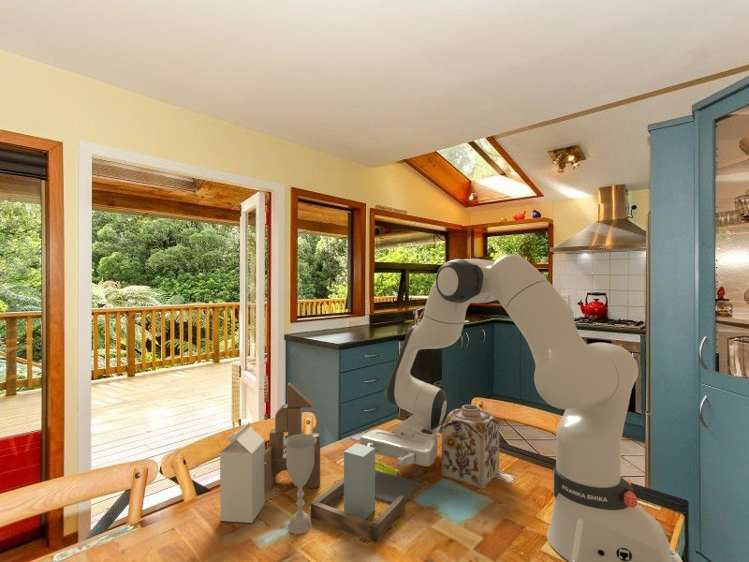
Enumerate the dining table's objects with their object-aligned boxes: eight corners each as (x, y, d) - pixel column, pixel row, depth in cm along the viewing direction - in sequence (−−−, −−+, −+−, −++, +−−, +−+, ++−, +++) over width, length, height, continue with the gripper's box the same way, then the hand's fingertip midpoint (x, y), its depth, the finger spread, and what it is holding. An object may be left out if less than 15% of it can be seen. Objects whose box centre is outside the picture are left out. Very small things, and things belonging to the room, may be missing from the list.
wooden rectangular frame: (404, 509, 90) (404, 496, 90) (375, 542, 78) (375, 527, 78) (344, 489, 98) (344, 477, 98) (310, 517, 87) (310, 503, 87)
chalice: (281, 519, 86) (281, 436, 86) (312, 512, 88) (312, 432, 88) (286, 540, 79) (286, 450, 79) (320, 532, 82) (320, 445, 81)
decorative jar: (483, 491, 98) (483, 417, 97) (440, 476, 105) (440, 408, 104) (500, 471, 107) (500, 405, 107) (460, 459, 114) (460, 397, 114)
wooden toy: (256, 491, 97) (255, 389, 97) (261, 477, 104) (261, 382, 104) (319, 488, 98) (319, 388, 98) (321, 475, 105) (321, 380, 105)
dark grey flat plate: (421, 485, 100) (421, 483, 100) (401, 506, 91) (401, 504, 91) (373, 471, 107) (373, 469, 107) (350, 490, 98) (350, 488, 98)
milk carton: (264, 504, 92) (264, 422, 91) (252, 524, 84) (251, 434, 84) (234, 503, 92) (234, 421, 92) (220, 521, 85) (219, 433, 85)
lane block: (375, 510, 90) (375, 448, 89) (363, 521, 85) (363, 456, 85) (356, 503, 92) (356, 443, 92) (343, 514, 88) (343, 451, 88)
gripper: (375, 420, 115) (347, 437, 103) (442, 434, 104) (420, 455, 92) (375, 442, 115) (347, 461, 103) (442, 458, 104) (420, 482, 92)
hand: (382, 458), depth 97 cm, fingers open, 8 cm apart
